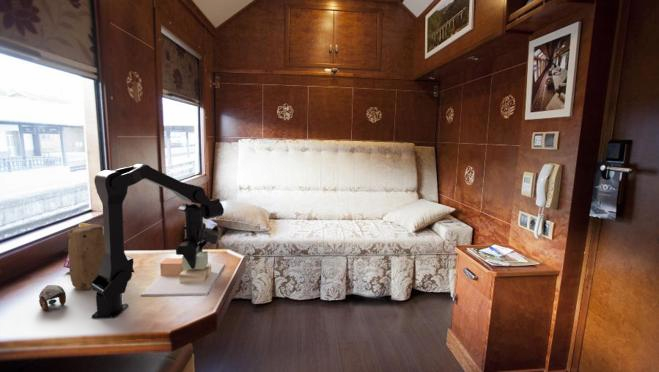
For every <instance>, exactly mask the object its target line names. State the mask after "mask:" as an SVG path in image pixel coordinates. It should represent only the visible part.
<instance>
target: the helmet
mask: <svg viewBox="0 0 659 372" xmlns="http://www.w3.org/2000/svg"><path fill="white" fill-rule="evenodd" d="M38 298H39V300H38V303H39V305H40V308H41V309H42V310H43V311H44V312H49V310H50V307H49V305H51V306H52V305H54V304H55V303H56V302H57V298H58V301H59V303H60V305H61V306H64V305H65V304H66V303H67V294H66V291H65V289H64V288H63V287H62V286H60V285H56V284H48V285H46V286H45V287H44V288H43V289H42V290H41V291H40V292H39V295H38Z"/></svg>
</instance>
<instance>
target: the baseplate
mask: <svg viewBox="0 0 659 372" xmlns="http://www.w3.org/2000/svg"><path fill="white" fill-rule="evenodd" d="M210 264H211V273H210V275H209V276H208V278H207V279H206V281H205V282H204V283H180V280H179V276H161V274H160V275H158V277H157V278H156V279H155V280H153V282H152V283H150V285H149V286H147V288H145V290H143V291H142V293H140V296H141V297H159V296H160V297H161V296H162V297H164V296H165V297H166V296H170V297H171V296H172V297H173V296H207V295H208V294H209V292H210V290H211V289H212V287H213V286H214V283H215V282H216V280H217V279H218V277H219V275H220V274H221V272H222V270H223V268H224V267H225V263H210Z"/></svg>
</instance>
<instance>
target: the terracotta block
mask: <svg viewBox="0 0 659 372" xmlns="http://www.w3.org/2000/svg"><path fill="white" fill-rule="evenodd" d="M159 264H160V265H159V266H160V275H161V276H179V274H180V273H181V272H182V271H183V270H184V269H183V263H182V257H181V258H180V257H179V258H178V257H177V258H176V257H175V258H173V257H171V258H170V257H169V258H165V259H164V260H162V262H160V263H159Z"/></svg>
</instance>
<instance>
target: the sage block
mask: <svg viewBox="0 0 659 372" xmlns="http://www.w3.org/2000/svg"><path fill="white" fill-rule="evenodd" d="M208 252H209V251H205V250H203V251H202V252H199V253H198V254H197V257H196V264H195V268H194V269H204V268H205V267H206V266H207V264H209V253H208ZM181 256H182V257H181V258H182V263H183V269H192V268H191V267H190V265H189V264H188V262H187V260H186V259H185V257H184V256H183V255H181Z"/></svg>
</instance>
